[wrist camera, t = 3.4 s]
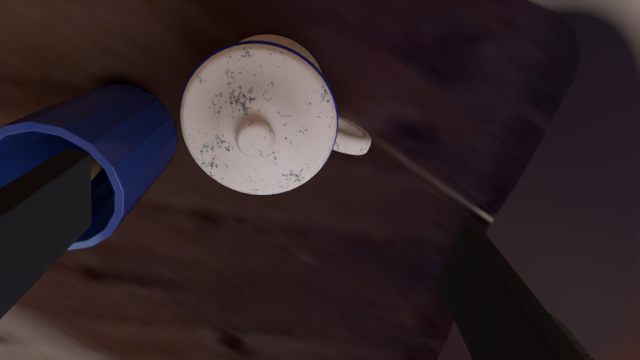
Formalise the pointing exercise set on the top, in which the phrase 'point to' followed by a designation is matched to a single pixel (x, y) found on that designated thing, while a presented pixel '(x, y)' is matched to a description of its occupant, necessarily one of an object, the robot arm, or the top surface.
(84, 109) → the pen pot
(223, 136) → the teacup with lid
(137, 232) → the top surface
